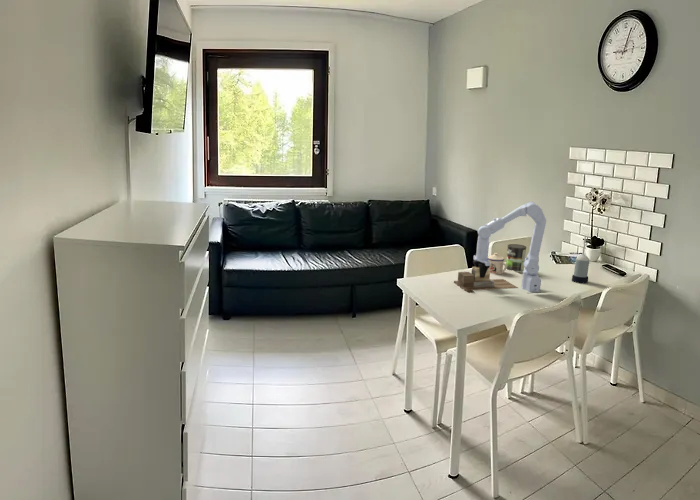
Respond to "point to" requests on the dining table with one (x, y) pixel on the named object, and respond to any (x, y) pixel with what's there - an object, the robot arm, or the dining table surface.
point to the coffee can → (515, 257)
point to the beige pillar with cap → (477, 275)
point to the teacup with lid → (496, 264)
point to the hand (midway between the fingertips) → (480, 276)
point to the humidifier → (581, 268)
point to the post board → (480, 283)
